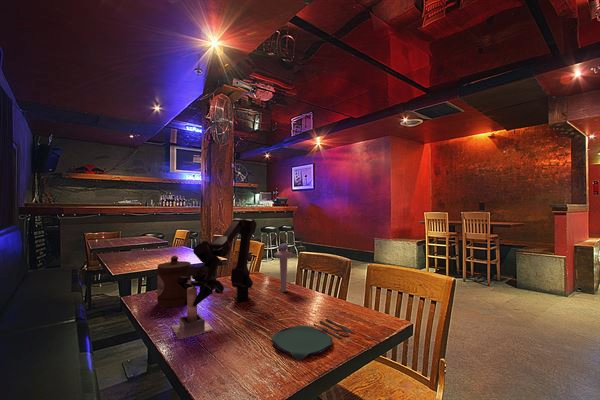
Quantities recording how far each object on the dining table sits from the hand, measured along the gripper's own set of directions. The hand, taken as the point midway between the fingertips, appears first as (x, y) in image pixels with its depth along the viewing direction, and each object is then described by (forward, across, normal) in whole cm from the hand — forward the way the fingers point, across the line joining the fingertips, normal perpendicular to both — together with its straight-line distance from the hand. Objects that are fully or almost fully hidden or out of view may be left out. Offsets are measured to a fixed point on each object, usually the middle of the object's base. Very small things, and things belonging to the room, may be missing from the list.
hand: (189, 305), depth 106 cm
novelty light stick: (-32, +14, +46) cm, 57 cm away
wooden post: (+4, 0, +6) cm, 7 cm away
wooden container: (-9, -28, +22) cm, 37 cm away
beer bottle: (-30, -32, +44) cm, 62 cm away
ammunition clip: (-40, -22, +54) cm, 71 cm away
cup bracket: (+6, 0, +8) cm, 9 cm away
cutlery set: (0, +45, +14) cm, 47 cm away
